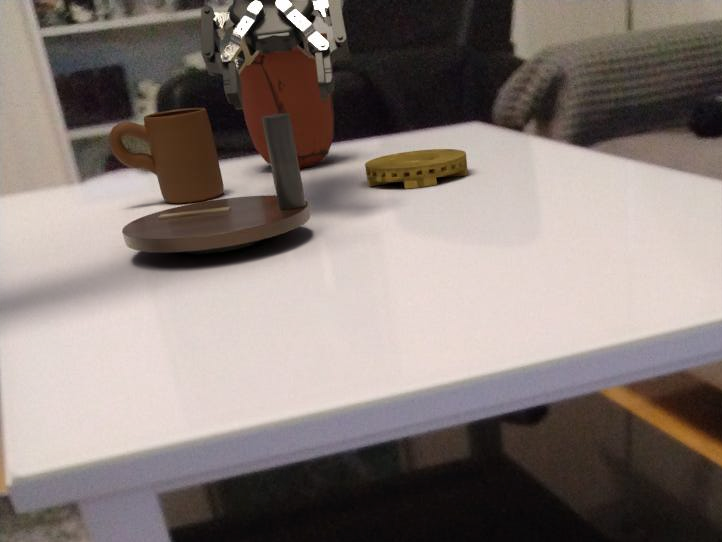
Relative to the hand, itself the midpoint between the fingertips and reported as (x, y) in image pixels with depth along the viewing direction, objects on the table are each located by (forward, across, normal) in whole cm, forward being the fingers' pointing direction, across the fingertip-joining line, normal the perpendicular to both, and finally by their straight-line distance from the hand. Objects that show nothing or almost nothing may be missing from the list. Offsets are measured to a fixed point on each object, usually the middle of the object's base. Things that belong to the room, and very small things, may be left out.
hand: (280, 98), depth 100 cm
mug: (-8, -17, +24) cm, 31 cm away
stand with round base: (+13, -8, +4) cm, 15 cm away
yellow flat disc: (-5, +12, +21) cm, 25 cm away
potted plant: (-18, -2, +35) cm, 39 cm away
